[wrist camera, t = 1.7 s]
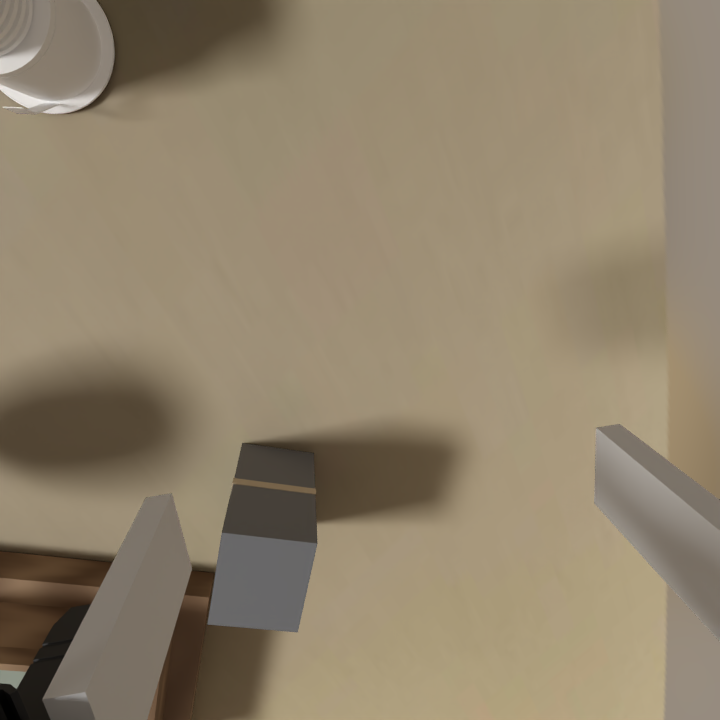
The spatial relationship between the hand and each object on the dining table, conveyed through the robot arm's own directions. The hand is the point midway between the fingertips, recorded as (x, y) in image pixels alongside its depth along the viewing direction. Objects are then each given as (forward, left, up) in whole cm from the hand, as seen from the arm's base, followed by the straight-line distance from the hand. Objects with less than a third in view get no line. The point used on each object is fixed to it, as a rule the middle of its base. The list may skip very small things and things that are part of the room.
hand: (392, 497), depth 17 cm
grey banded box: (-3, -12, -20) cm, 24 cm away
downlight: (-19, +13, -20) cm, 30 cm away
